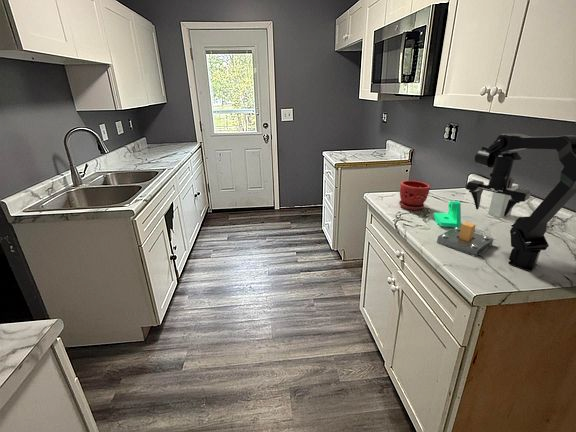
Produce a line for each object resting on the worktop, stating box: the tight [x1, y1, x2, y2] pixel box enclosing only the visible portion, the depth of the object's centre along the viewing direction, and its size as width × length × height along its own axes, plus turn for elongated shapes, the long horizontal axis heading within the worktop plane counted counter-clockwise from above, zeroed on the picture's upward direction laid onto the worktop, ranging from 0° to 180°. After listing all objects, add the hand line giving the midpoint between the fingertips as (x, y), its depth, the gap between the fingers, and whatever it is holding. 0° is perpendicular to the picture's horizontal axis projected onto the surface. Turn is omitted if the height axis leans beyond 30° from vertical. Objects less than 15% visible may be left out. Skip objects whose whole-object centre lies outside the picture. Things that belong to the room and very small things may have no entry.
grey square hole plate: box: [436, 227, 494, 257], centre depth 117 cm, size 14×14×3 cm
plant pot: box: [398, 180, 431, 211], centre depth 152 cm, size 13×13×12 cm
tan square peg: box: [459, 221, 477, 242], centre depth 116 cm, size 4×4×8 cm
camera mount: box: [432, 200, 462, 228], centre depth 134 cm, size 12×8×10 cm, turn 171°
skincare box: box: [487, 183, 519, 219], centre depth 142 cm, size 8×6×15 cm
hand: (490, 212), depth 114 cm, fingers open, 9 cm apart
